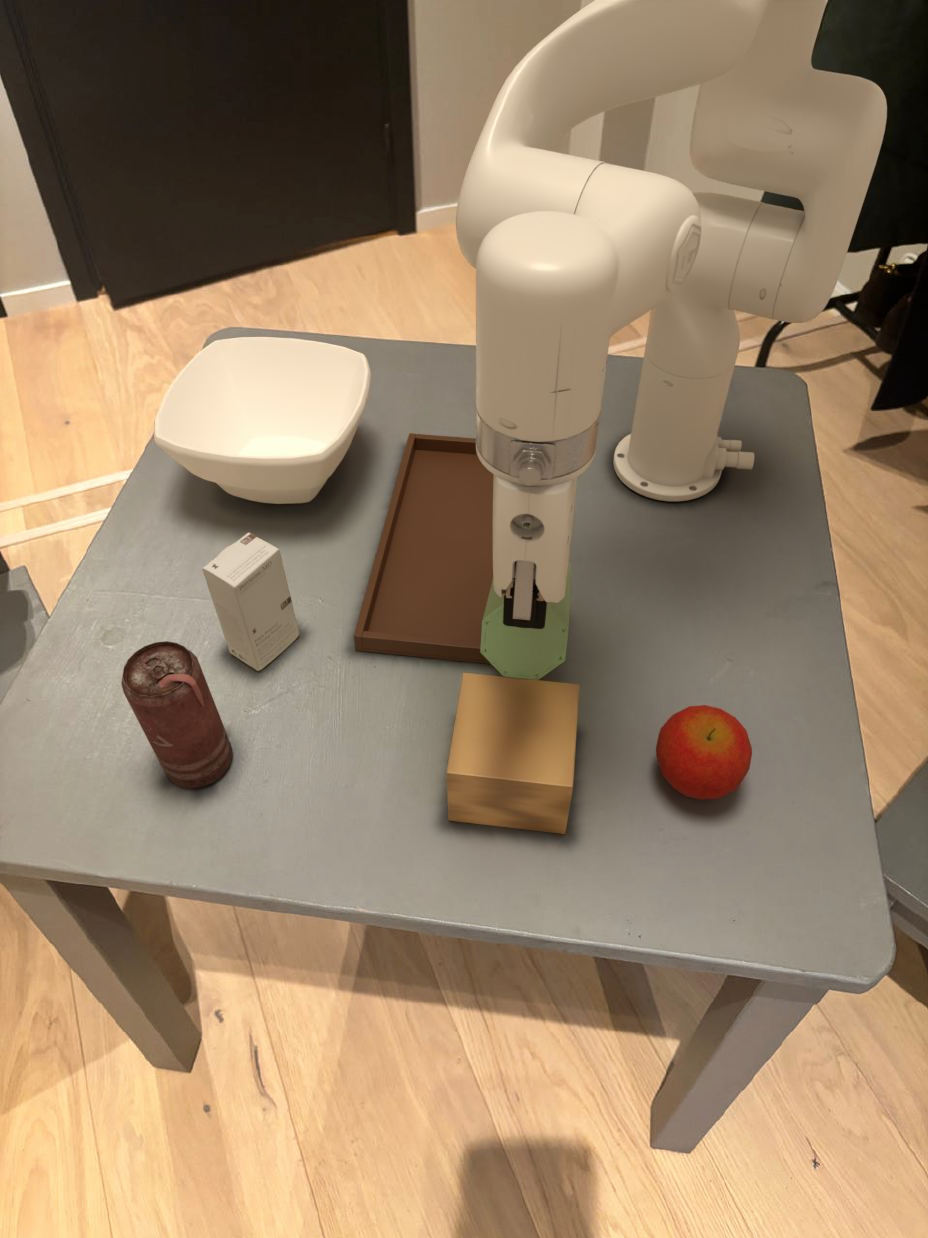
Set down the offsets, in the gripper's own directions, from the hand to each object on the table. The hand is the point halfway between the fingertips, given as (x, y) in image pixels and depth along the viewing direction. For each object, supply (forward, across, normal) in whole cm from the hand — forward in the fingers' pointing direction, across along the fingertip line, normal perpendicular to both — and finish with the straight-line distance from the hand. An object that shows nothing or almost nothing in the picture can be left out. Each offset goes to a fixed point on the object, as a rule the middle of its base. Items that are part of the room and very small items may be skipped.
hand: (524, 619), depth 69 cm
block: (+17, -4, 0) cm, 17 cm away
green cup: (+6, +2, 0) cm, 6 cm away
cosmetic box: (+17, +8, +26) cm, 32 cm away
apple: (+17, -2, -16) cm, 24 cm away
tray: (+17, +24, +8) cm, 30 cm away
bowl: (+17, +33, +31) cm, 48 cm away
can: (+17, -6, +28) cm, 33 cm away
